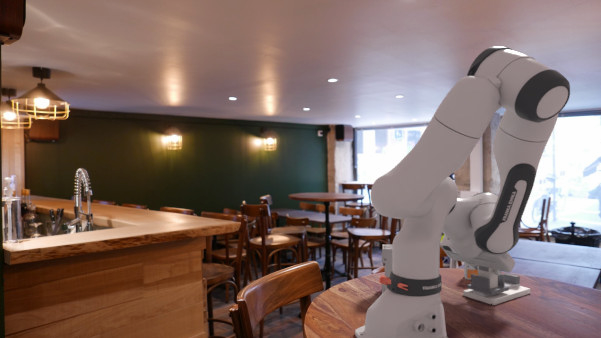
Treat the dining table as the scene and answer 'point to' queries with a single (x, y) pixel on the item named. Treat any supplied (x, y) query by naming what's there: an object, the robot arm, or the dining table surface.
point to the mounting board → (499, 295)
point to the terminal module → (488, 275)
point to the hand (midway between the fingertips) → (487, 270)
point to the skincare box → (469, 271)
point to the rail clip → (504, 284)
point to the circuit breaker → (387, 261)
